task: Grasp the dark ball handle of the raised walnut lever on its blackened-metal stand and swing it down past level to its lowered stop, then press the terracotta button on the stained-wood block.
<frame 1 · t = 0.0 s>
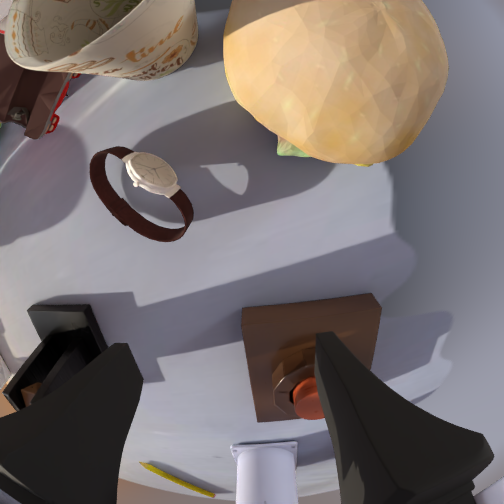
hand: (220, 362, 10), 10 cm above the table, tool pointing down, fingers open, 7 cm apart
press button: (317, 398, 19), point 4 cm above the table, slide at 0.1 cm
burger: (326, 63, 15), on the table
watch: (147, 189, 18), on the table
pencil: (181, 481, 33), on the table
mug: (165, 17, 13), on the table
lever stand: (77, 347, 23), on the table
button block: (308, 359, 23), on the table
lever: (55, 442, 15), point 10 cm above the table, hinge at 25.0°
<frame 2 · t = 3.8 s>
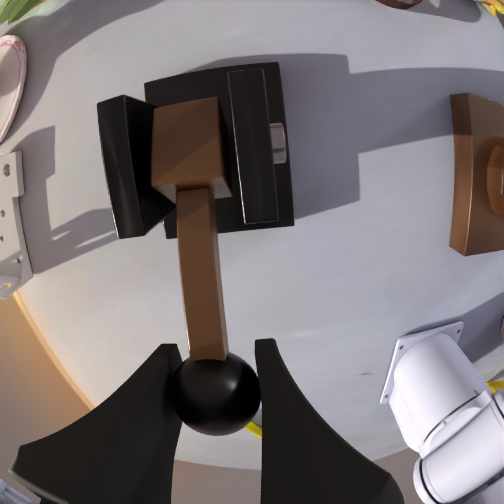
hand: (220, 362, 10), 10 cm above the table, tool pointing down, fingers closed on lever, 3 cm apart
bracket: (12, 224, 16), point 2 cm above the table
pencil: (285, 441, 27), on the table
lever stand: (220, 149, 16), on the table
button block: (492, 174, 16), on the table
fruit: (486, 383, 27), on the table
lever: (201, 275, 9), point 10 cm above the table, hinge at 25.0°, touching gripper
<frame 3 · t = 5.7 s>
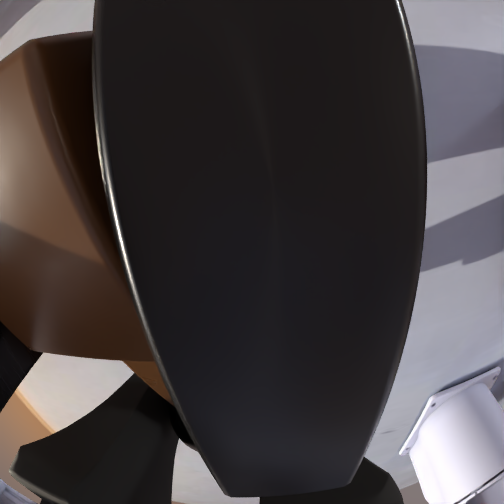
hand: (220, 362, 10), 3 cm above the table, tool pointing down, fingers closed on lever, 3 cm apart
lever stand: (199, 155, 10), on the table
lever: (175, 365, 5), point 6 cm above the table, hinge at -22.2°, touching gripper
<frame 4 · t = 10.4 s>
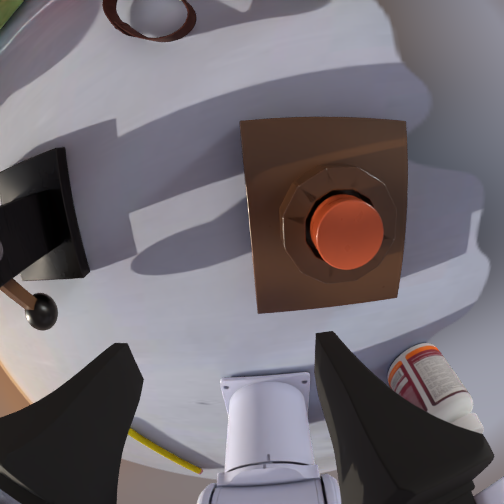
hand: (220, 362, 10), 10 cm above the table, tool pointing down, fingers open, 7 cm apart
press button: (346, 231, 14), point 4 cm above the table, slide at 0.1 cm
watch: (153, 15, 13), on the table
pencil: (159, 447, 29), on the table
lever stand: (41, 218, 18), on the table
button block: (325, 211, 18), on the table
pill bottle: (411, 362, 24), on the table
lever: (10, 287, 14), point 6 cm above the table, hinge at -33.7°
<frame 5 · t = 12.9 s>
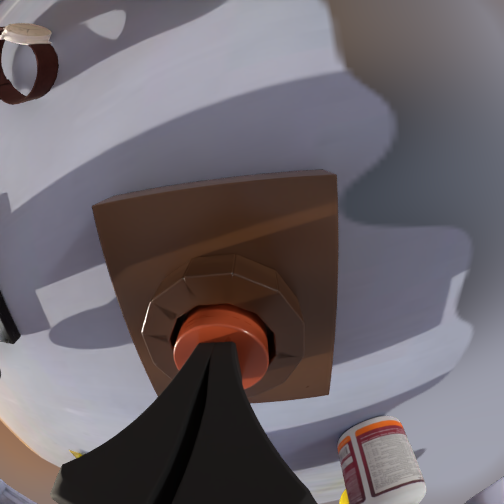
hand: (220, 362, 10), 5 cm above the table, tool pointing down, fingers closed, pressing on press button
press button: (222, 348, 11), point 4 cm above the table, slide at -0.4 cm, touching gripper
watch: (31, 64, 9), on the table
button block: (229, 297, 14), on the table
pill bottle: (368, 431, 20), on the table
fruit: (356, 477, 25), on the table
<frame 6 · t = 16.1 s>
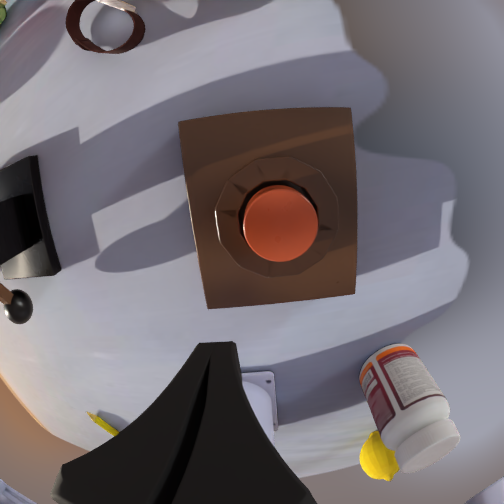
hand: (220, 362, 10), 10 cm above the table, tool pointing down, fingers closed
press button: (279, 222, 14), point 4 cm above the table, slide at 0.1 cm
watch: (111, 29, 14), on the table
pencil: (138, 445, 28), on the table
lever stand: (19, 221, 19), on the table
button block: (273, 205, 18), on the table
pill bottle: (386, 364, 24), on the table
fruit: (373, 431, 28), on the table
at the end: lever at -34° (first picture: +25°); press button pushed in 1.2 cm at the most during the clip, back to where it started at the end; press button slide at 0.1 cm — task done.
